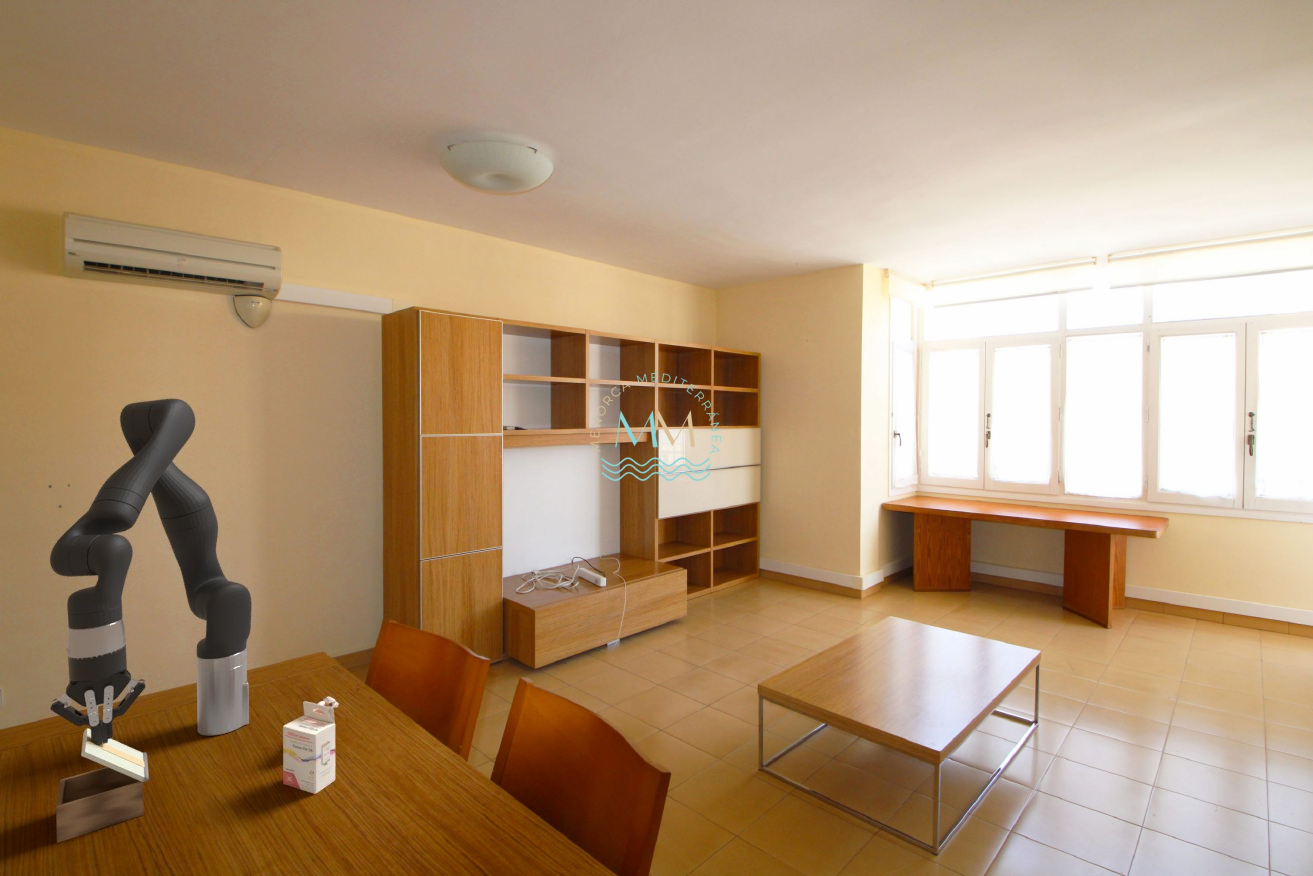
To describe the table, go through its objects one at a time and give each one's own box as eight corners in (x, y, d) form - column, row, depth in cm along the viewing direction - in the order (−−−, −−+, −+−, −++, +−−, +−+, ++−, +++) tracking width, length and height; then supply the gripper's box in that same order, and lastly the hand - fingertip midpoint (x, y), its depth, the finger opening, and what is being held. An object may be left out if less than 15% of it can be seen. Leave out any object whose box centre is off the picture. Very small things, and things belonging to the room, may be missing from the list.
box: (142, 788, 116) (141, 757, 116) (143, 815, 108) (143, 782, 108) (61, 812, 109) (60, 779, 108) (57, 843, 101) (56, 807, 101)
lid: (143, 758, 116) (148, 753, 116) (145, 783, 108) (150, 778, 109) (83, 731, 110) (88, 726, 111) (81, 755, 103) (86, 750, 103)
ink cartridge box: (281, 785, 118) (280, 710, 117) (303, 771, 122) (303, 699, 122) (315, 795, 115) (314, 718, 114) (336, 780, 120) (336, 707, 119)
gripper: (145, 631, 114) (149, 721, 116) (46, 650, 106) (51, 747, 107) (147, 644, 109) (151, 738, 110) (42, 665, 100) (48, 766, 101)
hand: (102, 742), depth 108 cm, fingers closed
